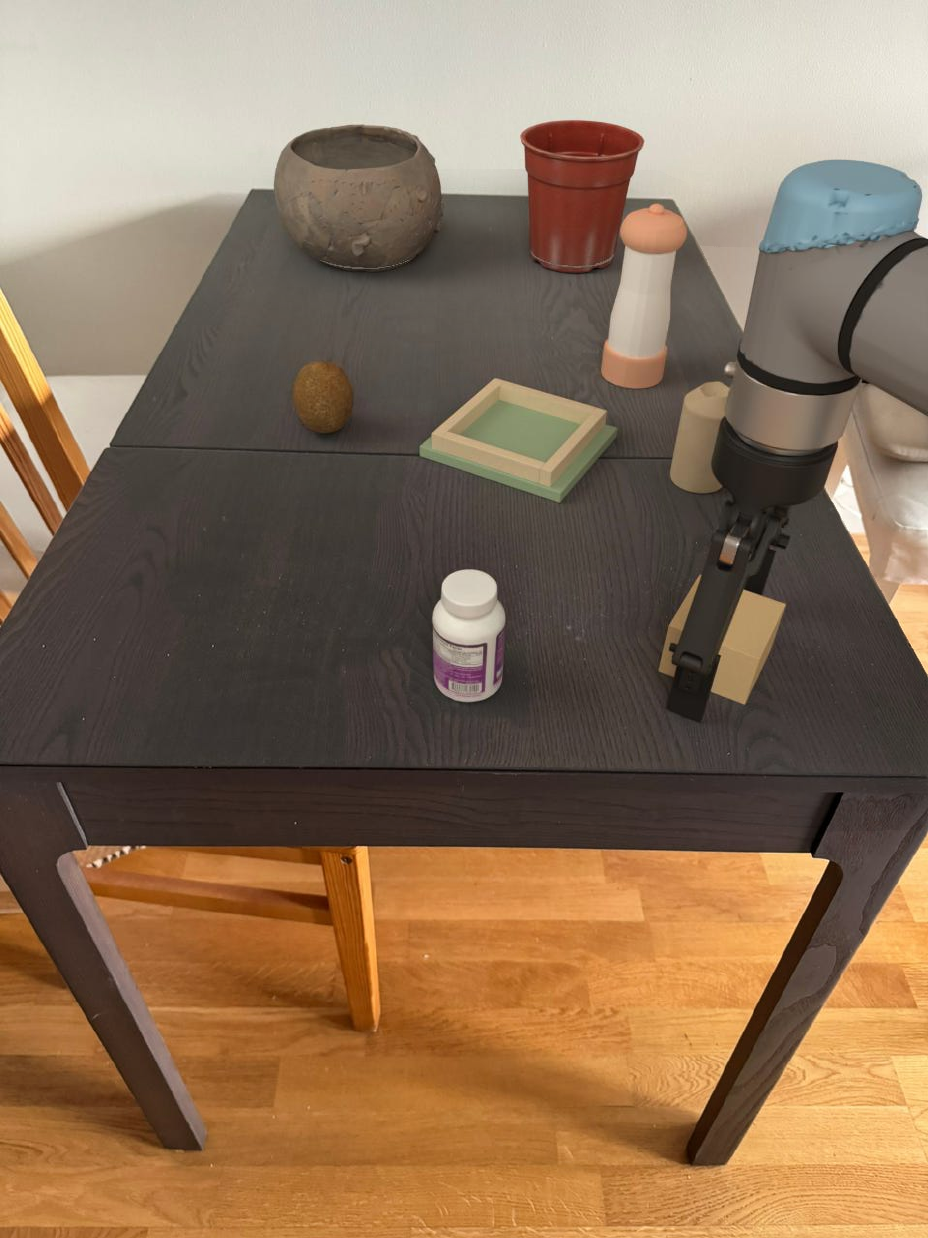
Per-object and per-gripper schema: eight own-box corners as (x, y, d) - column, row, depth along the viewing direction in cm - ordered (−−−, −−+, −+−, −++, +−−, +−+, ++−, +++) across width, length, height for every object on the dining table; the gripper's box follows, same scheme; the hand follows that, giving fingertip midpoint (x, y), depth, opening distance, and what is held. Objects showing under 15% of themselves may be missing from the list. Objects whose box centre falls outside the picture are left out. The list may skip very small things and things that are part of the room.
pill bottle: (468, 645, 75) (470, 552, 68) (516, 680, 72) (523, 586, 66) (418, 679, 72) (416, 585, 66) (466, 716, 69) (469, 622, 63)
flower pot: (555, 289, 126) (566, 163, 115) (492, 248, 137) (497, 129, 126) (651, 266, 133) (669, 145, 122) (584, 229, 143) (595, 114, 132)
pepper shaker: (675, 379, 108) (707, 209, 95) (626, 394, 105) (652, 221, 92) (636, 353, 113) (661, 188, 100) (588, 367, 110) (607, 199, 97)
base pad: (616, 437, 99) (620, 412, 97) (559, 503, 90) (562, 477, 88) (485, 397, 104) (485, 373, 102) (419, 456, 95) (418, 430, 93)
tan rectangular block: (770, 649, 75) (786, 603, 72) (744, 705, 71) (759, 659, 67) (688, 619, 78) (699, 574, 74) (658, 671, 73) (668, 625, 70)
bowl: (257, 276, 128) (241, 160, 118) (312, 218, 144) (302, 112, 134) (418, 294, 125) (416, 175, 114) (457, 232, 141) (458, 124, 131)
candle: (729, 494, 91) (752, 404, 84) (673, 493, 91) (692, 402, 84) (719, 463, 95) (740, 374, 88) (665, 462, 95) (682, 373, 88)
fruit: (342, 451, 96) (336, 381, 90) (287, 441, 97) (278, 371, 92) (364, 421, 100) (360, 352, 95) (311, 412, 102) (304, 343, 96)
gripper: (777, 336, 69) (719, 557, 84) (654, 506, 53) (608, 743, 68) (880, 361, 66) (801, 585, 81) (784, 549, 50) (707, 786, 65)
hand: (713, 657), depth 74 cm, fingers open, 13 cm apart
